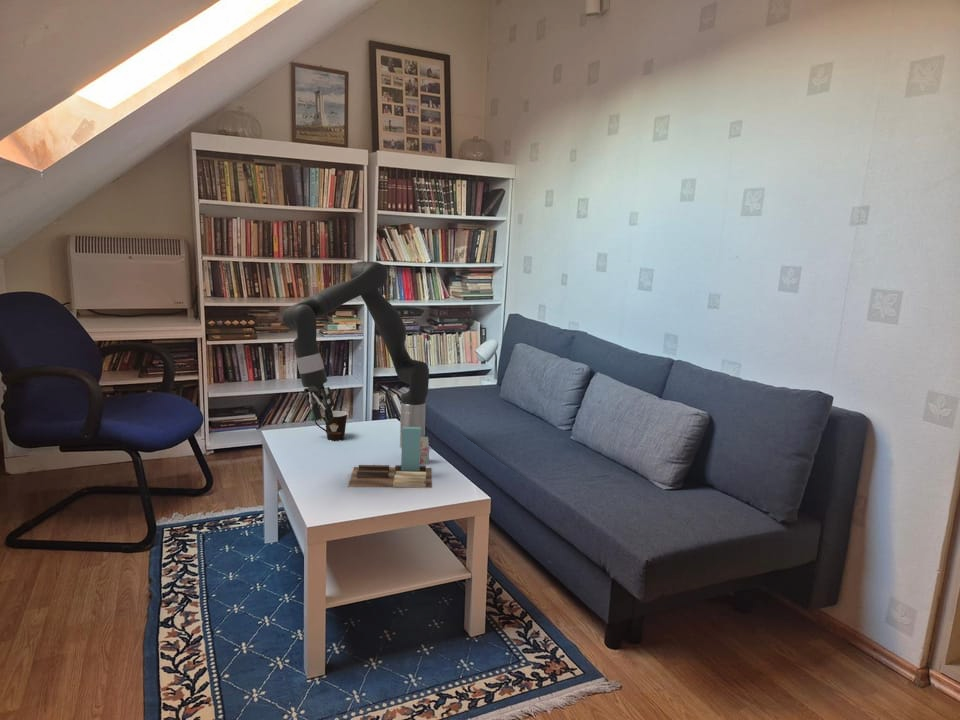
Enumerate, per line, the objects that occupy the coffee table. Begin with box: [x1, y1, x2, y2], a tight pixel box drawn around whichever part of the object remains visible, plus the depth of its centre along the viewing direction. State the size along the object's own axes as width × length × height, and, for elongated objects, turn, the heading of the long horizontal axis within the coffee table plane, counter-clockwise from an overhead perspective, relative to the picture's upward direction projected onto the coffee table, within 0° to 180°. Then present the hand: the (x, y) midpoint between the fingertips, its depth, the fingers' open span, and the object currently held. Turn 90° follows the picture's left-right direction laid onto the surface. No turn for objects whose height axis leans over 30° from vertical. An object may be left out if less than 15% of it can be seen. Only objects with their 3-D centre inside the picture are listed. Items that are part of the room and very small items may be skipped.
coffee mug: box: [314, 410, 348, 442], centre depth 245 cm, size 12×9×10 cm
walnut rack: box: [347, 464, 433, 489], centre depth 205 cm, size 18×26×3 cm
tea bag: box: [420, 436, 430, 465], centre depth 219 cm, size 4×7×10 cm, turn 115°
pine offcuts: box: [392, 471, 426, 488], centre depth 199 cm, size 6×10×3 cm, turn 95°
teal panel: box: [400, 427, 421, 471], centre depth 206 cm, size 2×6×16 cm, turn 95°
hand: (324, 420), depth 195 cm, fingers open, 8 cm apart
